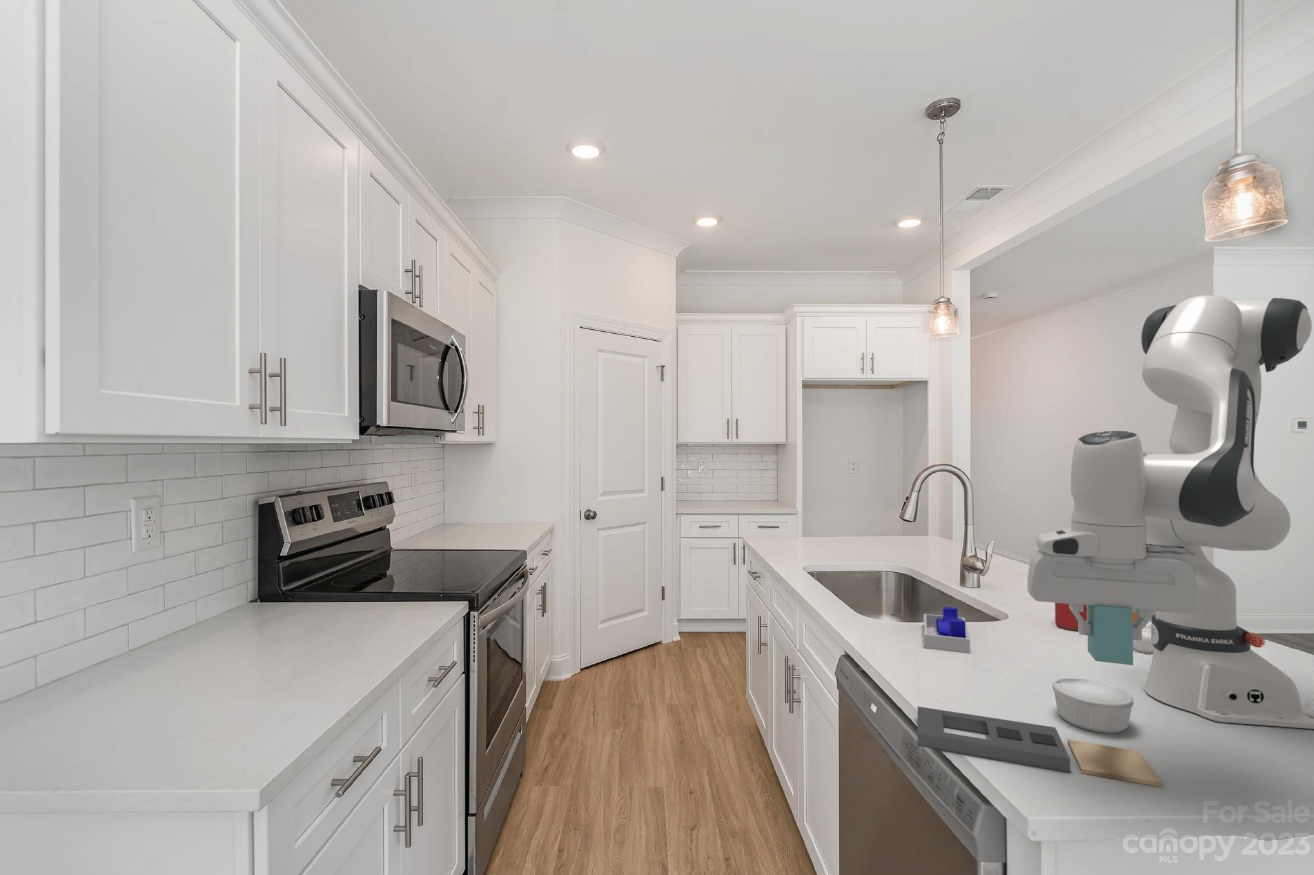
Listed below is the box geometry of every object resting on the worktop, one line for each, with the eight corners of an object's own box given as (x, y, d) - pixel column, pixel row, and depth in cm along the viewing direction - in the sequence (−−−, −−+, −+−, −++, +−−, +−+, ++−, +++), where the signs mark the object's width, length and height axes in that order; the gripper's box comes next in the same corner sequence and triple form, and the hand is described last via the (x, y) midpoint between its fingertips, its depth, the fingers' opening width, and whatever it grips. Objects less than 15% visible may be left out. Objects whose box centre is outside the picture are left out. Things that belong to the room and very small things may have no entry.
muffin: (1162, 649, 134) (1161, 618, 134) (1162, 657, 129) (1161, 625, 129) (1126, 643, 138) (1126, 613, 138) (1125, 651, 133) (1125, 619, 133)
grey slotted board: (1055, 740, 95) (1055, 726, 95) (1070, 772, 86) (1069, 758, 86) (917, 718, 103) (917, 705, 103) (917, 745, 94) (917, 732, 94)
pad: (1138, 754, 90) (1138, 750, 90) (1160, 787, 82) (1160, 782, 82) (1067, 743, 94) (1067, 739, 94) (1081, 773, 86) (1081, 768, 86)
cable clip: (936, 630, 149) (936, 606, 149) (956, 632, 148) (956, 607, 148) (944, 646, 138) (943, 620, 138) (965, 648, 137) (965, 622, 137)
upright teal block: (1123, 654, 89) (1122, 601, 89) (1133, 665, 85) (1132, 608, 85) (1087, 651, 91) (1087, 598, 91) (1095, 661, 87) (1094, 605, 87)
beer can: (1093, 631, 146) (1093, 582, 146) (1066, 631, 146) (1065, 582, 146) (1075, 623, 153) (1074, 576, 153) (1049, 623, 153) (1048, 576, 153)
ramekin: (1083, 702, 109) (1082, 673, 109) (1151, 730, 98) (1150, 698, 98) (1036, 712, 105) (1036, 681, 105) (1102, 742, 94) (1101, 708, 94)
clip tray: (964, 629, 149) (964, 617, 149) (969, 653, 133) (969, 639, 133) (923, 625, 153) (923, 613, 153) (924, 647, 137) (924, 634, 137)
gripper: (1189, 542, 87) (1190, 638, 87) (1024, 535, 95) (1025, 622, 95) (1208, 550, 81) (1209, 653, 81) (1031, 541, 89) (1032, 634, 89)
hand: (1109, 636), depth 88 cm, fingers closed on upright teal block, 4 cm apart
